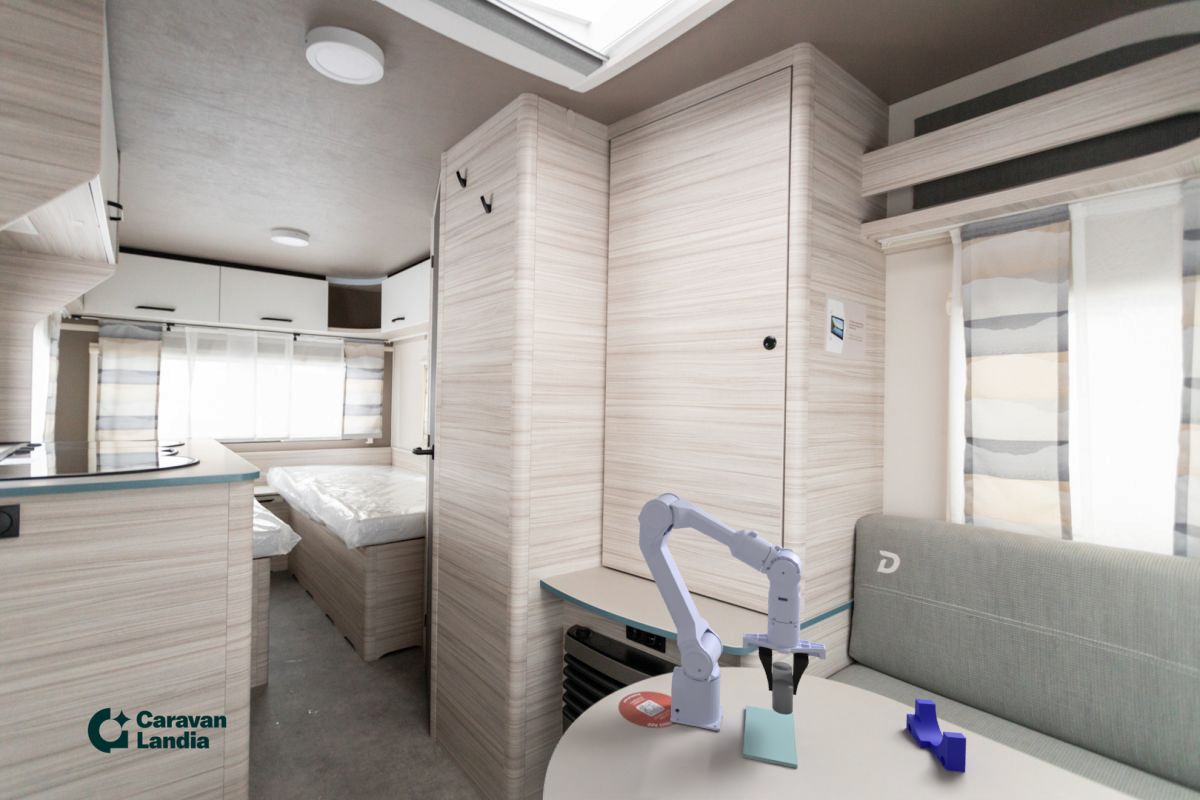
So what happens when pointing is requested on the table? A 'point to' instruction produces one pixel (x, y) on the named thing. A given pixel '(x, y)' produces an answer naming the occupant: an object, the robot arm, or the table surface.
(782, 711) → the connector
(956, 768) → the cable clip
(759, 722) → the rubber mat
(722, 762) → the table surface
